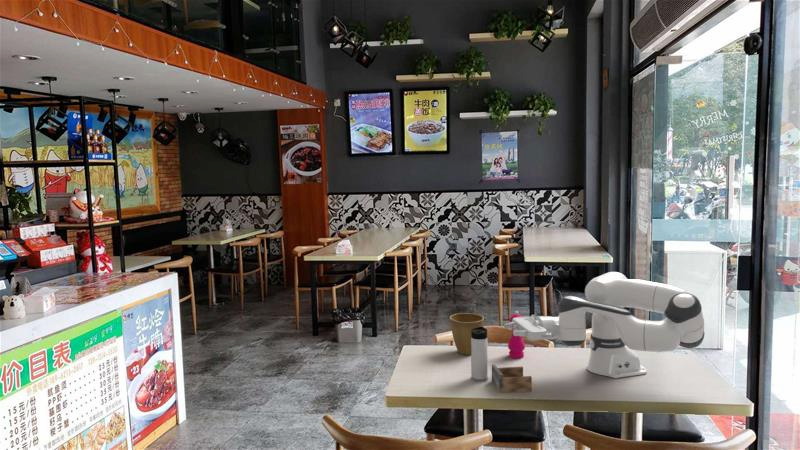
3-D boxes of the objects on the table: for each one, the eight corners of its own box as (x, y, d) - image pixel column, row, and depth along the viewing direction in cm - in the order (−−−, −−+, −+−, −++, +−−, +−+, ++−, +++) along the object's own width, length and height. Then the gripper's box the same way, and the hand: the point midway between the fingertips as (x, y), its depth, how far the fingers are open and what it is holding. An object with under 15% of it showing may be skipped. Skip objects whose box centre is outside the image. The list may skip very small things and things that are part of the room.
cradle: (521, 379, 234) (522, 362, 233) (531, 391, 222) (531, 373, 221) (491, 381, 232) (491, 364, 232) (499, 392, 220) (499, 375, 220)
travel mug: (489, 377, 237) (489, 327, 234) (484, 382, 231) (484, 331, 228) (474, 374, 239) (474, 325, 237) (469, 380, 233) (468, 330, 231)
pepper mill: (525, 359, 257) (525, 313, 254) (507, 358, 258) (507, 312, 256) (524, 353, 264) (525, 309, 261) (508, 353, 265) (508, 308, 263)
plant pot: (447, 357, 261) (447, 321, 259) (452, 346, 276) (452, 312, 274) (482, 359, 258) (482, 322, 256) (485, 348, 272) (485, 313, 271)
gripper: (553, 343, 225) (518, 345, 223) (533, 328, 245) (500, 330, 243) (554, 327, 224) (518, 329, 222) (533, 313, 245) (500, 315, 242)
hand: (508, 329), depth 233 cm, fingers open, 8 cm apart
